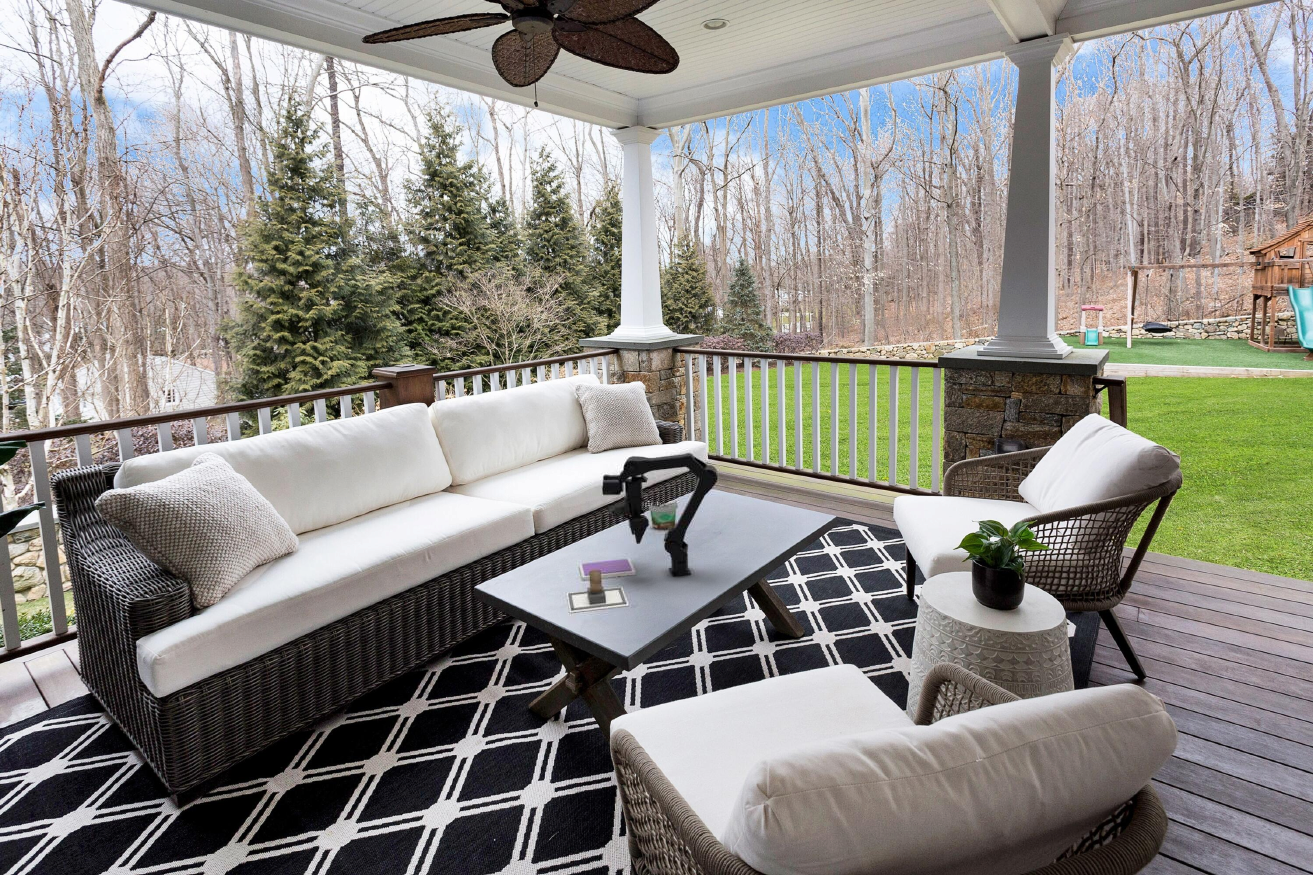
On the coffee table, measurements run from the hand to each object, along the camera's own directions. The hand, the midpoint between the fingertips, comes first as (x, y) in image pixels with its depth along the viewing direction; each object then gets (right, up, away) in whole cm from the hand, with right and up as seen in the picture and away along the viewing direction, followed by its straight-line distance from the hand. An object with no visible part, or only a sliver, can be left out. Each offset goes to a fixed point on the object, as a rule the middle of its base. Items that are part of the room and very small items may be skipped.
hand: (635, 538), depth 233 cm
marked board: (-12, -16, -18) cm, 27 cm away
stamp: (-12, -16, -18) cm, 27 cm away
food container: (+11, -3, +45) cm, 47 cm away
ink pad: (-10, -12, +4) cm, 16 cm away
